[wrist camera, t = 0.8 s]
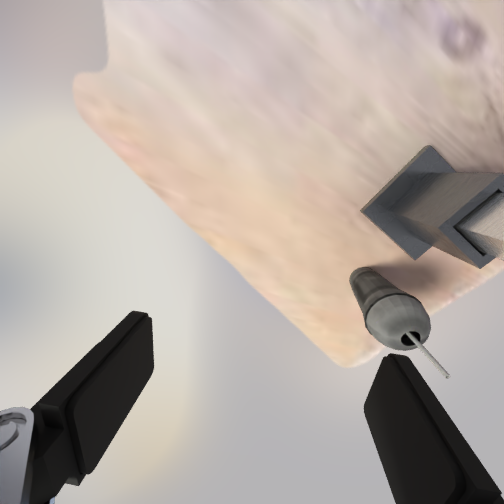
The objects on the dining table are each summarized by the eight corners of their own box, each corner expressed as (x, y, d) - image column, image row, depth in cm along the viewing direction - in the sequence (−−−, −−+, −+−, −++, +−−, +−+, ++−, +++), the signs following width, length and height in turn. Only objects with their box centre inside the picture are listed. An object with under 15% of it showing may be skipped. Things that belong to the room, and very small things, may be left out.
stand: (425, 146, 33) (511, 131, 21) (478, 201, 35) (588, 217, 23) (359, 210, 37) (401, 230, 25) (411, 257, 39) (473, 297, 26)
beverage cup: (357, 252, 39) (433, 327, 20) (394, 271, 40) (500, 362, 21) (333, 285, 42) (379, 380, 23) (367, 303, 42) (441, 411, 23)
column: (426, 185, 33) (629, 204, 14) (446, 205, 34) (668, 250, 15) (400, 209, 35) (553, 256, 16) (420, 228, 36) (591, 296, 16)
